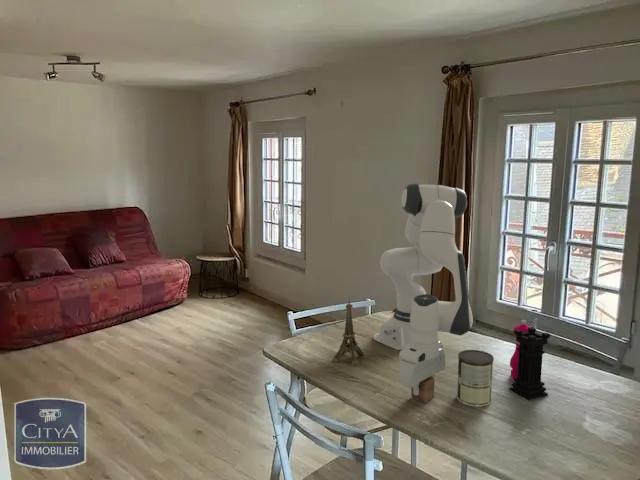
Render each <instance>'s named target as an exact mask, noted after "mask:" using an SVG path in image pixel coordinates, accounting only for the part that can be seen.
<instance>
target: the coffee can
mask: <svg viewBox="0 0 640 480" xmlns="http://www.w3.org/2000/svg"><path fill="white" fill-rule="evenodd" d="M457 357H458V361H457V362H458V364H457V365H458V366H457V369H458V370H457V392H456V394H457V395H456V399H457V400H458V402H460V403H461V404H463V405H466V406H469V407H473V408H474V407H475V408H481V407H486V406H490V405H491V403H492V393H493V392H492V389H493V388H492V387H493V368H494V365H493V364H494V359H495V358H494V355H492V354H491V353H489V352H488V351H483V350H479V349H466V350H462V351H459V352H458V356H457Z"/></svg>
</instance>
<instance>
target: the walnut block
mask: <svg viewBox="0 0 640 480" xmlns="http://www.w3.org/2000/svg"><path fill="white" fill-rule="evenodd" d="M418 387H419V389H421V391H420V392H421V393H420V394H419V395H414V394H413V388H412V387H410V388H411V390H410V391H411V392H410V393H411V396H410V397H412V399H414V400H417V401H419V402H422V403H427V402H429V401H430V400H432V399H433V398H434V397H435V378H434V379H433V378H430V377H429V378H427V379H425V380H423V381H421V382H419V385H418Z"/></svg>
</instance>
